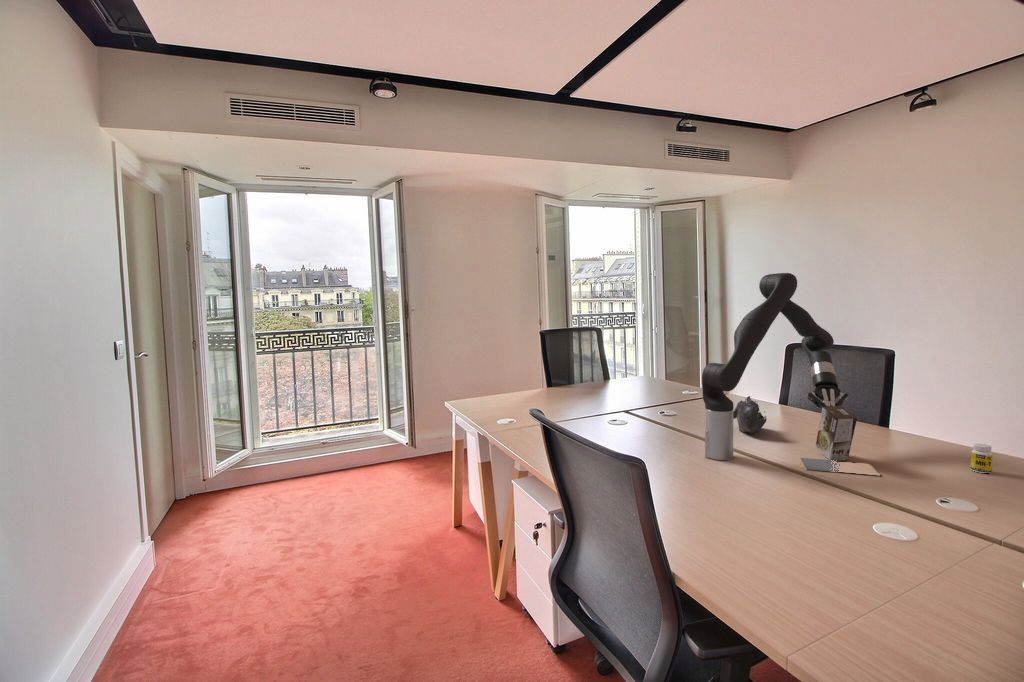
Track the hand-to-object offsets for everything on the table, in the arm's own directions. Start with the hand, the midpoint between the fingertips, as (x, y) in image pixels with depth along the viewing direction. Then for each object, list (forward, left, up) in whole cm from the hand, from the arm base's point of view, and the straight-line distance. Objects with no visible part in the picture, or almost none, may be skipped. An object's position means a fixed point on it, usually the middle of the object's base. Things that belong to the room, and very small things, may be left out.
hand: (831, 417), depth 170 cm
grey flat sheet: (0, -13, -13) cm, 19 cm away
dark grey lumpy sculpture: (-24, +21, -14) cm, 35 cm away
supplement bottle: (+39, -6, -14) cm, 41 cm away
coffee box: (0, -2, -12) cm, 13 cm away
